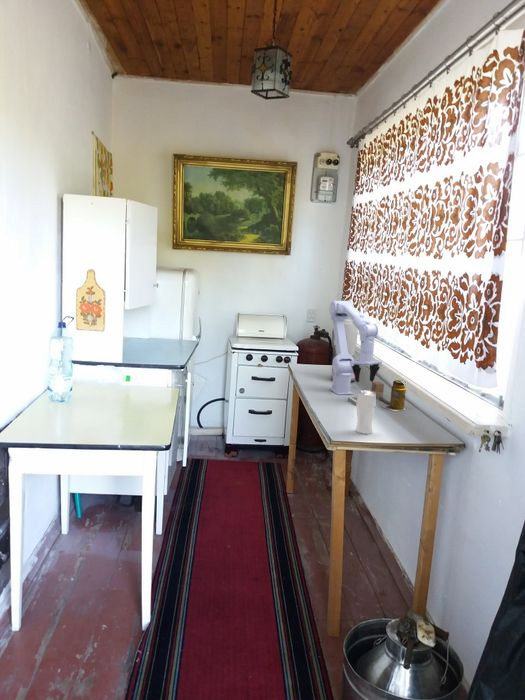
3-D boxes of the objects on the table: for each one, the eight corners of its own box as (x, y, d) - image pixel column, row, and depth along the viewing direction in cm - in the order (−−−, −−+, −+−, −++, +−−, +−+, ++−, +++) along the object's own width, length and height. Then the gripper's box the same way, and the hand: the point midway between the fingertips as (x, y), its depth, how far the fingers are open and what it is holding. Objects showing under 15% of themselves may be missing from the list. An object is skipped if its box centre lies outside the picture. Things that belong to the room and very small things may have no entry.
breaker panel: (347, 400, 238) (347, 395, 238) (363, 399, 240) (363, 394, 240) (357, 406, 229) (357, 401, 228) (373, 405, 231) (374, 400, 230)
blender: (344, 376, 283) (348, 318, 277) (359, 382, 273) (364, 321, 267) (321, 379, 275) (325, 319, 269) (337, 385, 265) (341, 322, 259)
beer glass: (351, 431, 196) (354, 392, 193) (358, 427, 201) (362, 389, 198) (368, 435, 192) (372, 396, 189) (376, 431, 197) (379, 392, 195)
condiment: (408, 409, 228) (410, 382, 226) (394, 411, 223) (397, 384, 221) (395, 404, 234) (398, 378, 232) (382, 407, 229) (384, 380, 227)
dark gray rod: (378, 399, 242) (378, 396, 242) (380, 399, 242) (381, 396, 242) (388, 404, 233) (388, 402, 233) (390, 404, 233) (391, 402, 233)
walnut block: (370, 396, 246) (372, 382, 245) (378, 396, 247) (379, 381, 246) (374, 398, 242) (376, 384, 241) (382, 398, 243) (383, 383, 242)
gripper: (355, 353, 225) (353, 384, 227) (386, 352, 228) (383, 383, 231) (348, 350, 231) (346, 380, 234) (378, 349, 235) (375, 379, 238)
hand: (364, 381), depth 233 cm, fingers open, 6 cm apart
